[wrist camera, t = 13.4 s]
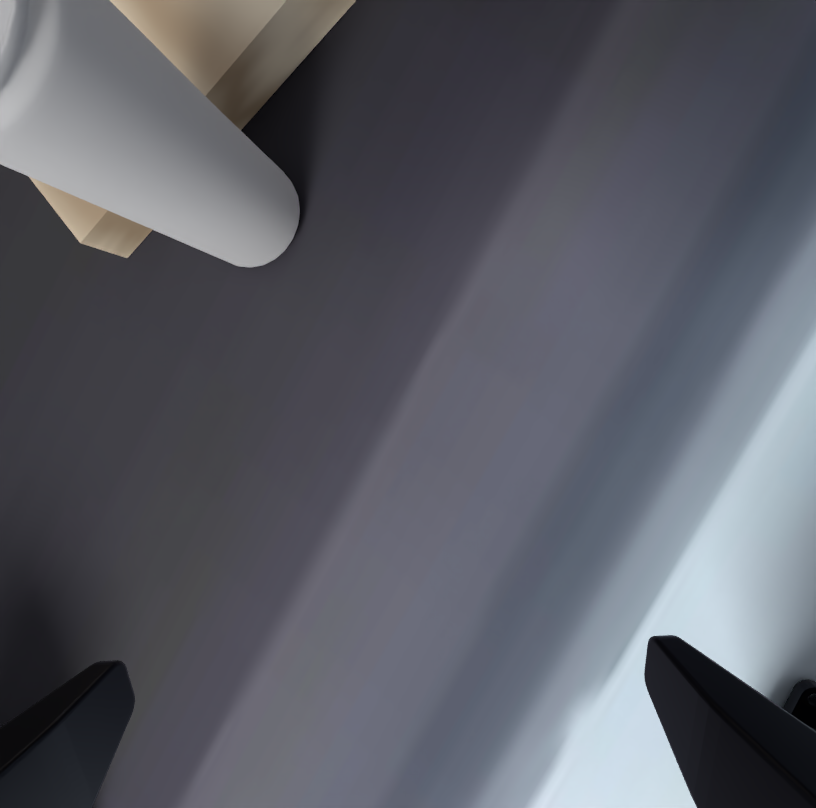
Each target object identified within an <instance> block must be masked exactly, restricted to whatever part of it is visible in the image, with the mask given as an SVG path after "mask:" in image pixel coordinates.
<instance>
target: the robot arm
mask: <svg viewBox="0 0 816 808" xmlns="http://www.w3.org/2000/svg"><path fill="white" fill-rule="evenodd" d="M645 683H646V687H647V690H648V692H649V695H650V697H651V700H652V702H653V705H654V707H655V709H656V712H657V714H658V717H659V719H660V722H661V724H662V726H663V729H664V731H665V734H666V736H667V738H668V741H669V743H670V746H671V748H672V751H673V753H674V755H675V758H676V760H677V763H678V765H679V768H680V770H681V772H682V775H683V777H684V780H685V782H686V784H687V787H688V789H689V791H690V793H691V796H692V798H693V800H694V802H695V804H696V806H697V808H816V696H815V697H814V698H812V699H808V697H809V696H810V695H811V694H816V682H815V681H811V680H802V681H800V682H798V683H797V684H796V685H795V686H794V688H793V690H792V692H791V694H790V696H789V698H788V700H787V702H786V704H785V706H784V708H783V709H782V708H781V707H780V706H778V705H777V704H775V703H774V702H772V701H771V700H769V699H768V698H766V697H765V696H764V695H762V694H761V693H759V692H758V691H756V690H755V689H753V688H752V687H750V686H749V685H748V684H746V683H745V682H743V681H742V680H740V679H739V678H737V677H736V676H734V675H733V674H732V673H730V672H729V671H727V670H726V669H724V668H723V667H721V666H720V665H719V664H717V663H716V662H714V661H713V660H711V659H710V658H708V657H707V656H705V655H704V654H703V653H701V652H700V651H698V650H697V649H695V648H694V647H692V646H691V645H689V644H688V643H687V642H685V641H684V640H682V639H681V638H679V637H677V636H673V635H668V636H653V637H651V638H650V639H649V641H648V647H647V655H646V664H645ZM134 703H135V696H134V692H133V688H132V685H131V682H130V678H129V675H128V672H127V668H126V666H125V664H124V663H123V662H122V661H100V662H96V663H94V664H93V665H91V666H89V667H88V668H87V669H85V670H84V671H82V672H81V673H79V674H78V675H76V676H75V677H74V678H72V679H71V680H69V681H68V682H66V683H65V684H63V685H62V686H61V687H59V688H58V689H56V690H55V691H53V692H52V693H50V694H49V695H48V696H46V697H45V698H43V699H42V700H40V701H39V702H37V703H36V704H35V705H33V706H32V707H30V708H29V709H27V710H26V711H24V712H23V713H22V714H20V715H19V716H17V717H16V718H14V719H13V720H11V721H10V722H9V723H7V724H6V725H4V726H3V727H1V728H0V808H92V806H93V804H94V802H95V800H96V797H97V795H98V793H99V790H100V788H101V785H102V783H103V781H104V778H105V776H106V774H107V771H108V769H109V767H110V764H111V762H112V760H113V757H114V755H115V752H116V750H117V748H118V745H119V743H120V741H121V738H122V736H123V734H124V731H125V729H126V727H127V724H128V722H129V720H130V717H131V715H132V712H133V709H134Z"/></svg>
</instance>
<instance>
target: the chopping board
mask: <svg viewBox="0 0 816 808" xmlns="http://www.w3.org/2000/svg"><path fill="white" fill-rule="evenodd" d="M109 1H111V2H112V3H113V4H114V5H115V6H116V7H117V8H118V9H119V10H120V11H121V12H122V13H123V14H124V15H125V16H126V17H127V18H128V19H129V20H130V21H131V22H132V23H133V24H134V25H135V26H136V27H137V28H138V29H139V30H140V31H141V32H142V33H143V34H144V35H145V36H146V37H147V38H148V39H149V40H150V41H151V42H152V43H153V44H154V45H155V46H156V47H157V48H158V49H159V50H160V51H161V52H162V53H163V54H164V55H165V56H166V57H167V58H168V59H169V60H170V61H171V62H172V63H173V64H174V65H175V66H176V67H177V68H178V69H179V70H180V71H181V72H182V73H183V74H184V75H185V76H186V77H187V78H188V79H189V80H190V81H191V82H192V84H193V85H194V86H195V87H196V88H197V89H198V90H199V91H200V92H201V93H202V94H203V95H204V96H206V97H207V98H208V99H209V100H210V101H211V102H212V103H213V104H214V105H215V106H216V107H217V108H218V109H219V110H220V111H221V112H222V113H223V114H224V115H225V116H226V117H227V118H228V119H229V120H230V121H231V122H232V123H233V124H234V125H235V126H236V127H237V128H238V129H239V130H242V129H243V127H244V126H245V125H246V124H247V123H248V122H249V121H250V120H251V118H252V117H253V116H254V115H255V114H256V113H257V112H258V111H259V109H260V108H261V107H262V106H263V105H264V104H265V103H266V102H267V100H268V99H269V98H270V97H271V96H272V95H273V94H274V93H275V91H276V90H277V89H278V88H279V87H280V86H281V85H282V84H283V82H284V81H285V80H286V79H287V78H288V77H289V76H290V75H291V73H292V72H293V71H294V70H295V69H296V68H297V67H298V66H299V64H300V63H301V62H302V61H303V60H304V59H305V58H306V57H307V55H308V54H309V53H310V52H311V51H312V50H313V49H314V48H315V46H316V45H317V44H318V43H319V42H320V41H321V40H322V39H323V37H324V36H325V35H326V34H327V33H328V32H329V31H330V30H331V28H332V27H333V26H334V25H335V24H336V23H337V22H338V21H339V19H340V18H341V17H342V16H343V15H344V14H345V13H346V12H347V10H348V9H349V8H350V7H351V6H352V5H353V4H354V2H355V1H356V0H109ZM30 179H31V180H32V181H33V183H34V184H35V185H36V186H37V188H38V189H39V190H40V192H41V193H42V194H43V196H44V197H45V198H46V199H47V201H48V202H49V203H50V205H51V206H52V207H53V208H54V210H55V211H56V212H57V214H58V215H59V216H60V217H61V219H62V220H63V221H64V223H65V224H66V225H67V227H68V228H69V229H70V230H71V232H72V233H73V234H74V236H75V237H76V238H77V239H78V241H79V242H80V243H82V244H85V245H88V246H91V247H94V248H97V249H100V250H103V251H106V252H110V253H113V254H116V255H119V256H122V257H125V258H128V257H129V256H130V255H131V254H132V252H133V251H134V250H135V249H136V248H137V247H138V246H139V245H140V243H141V242H142V241H143V240H144V239H145V238H146V237H147V236H148V234H149V233H150V232H151V231H152V229H150V228H148V227H145V226H143V225H141V224H138V223H136V222H134V221H131V220H129V219H127V218H124V217H122V216H120V215H118V214H115V213H113V212H111V211H108V210H106V209H104V208H101V207H99V206H97V205H94V204H92V203H90V202H87V201H85V200H83V199H80V198H78V197H76V196H73V195H71V194H69V193H66V192H64V191H62V190H59V189H57V188H55V187H52V186H50V185H48V184H45V183H43V182H41V181H38V180H36V179H34V178H31V177H30Z"/></svg>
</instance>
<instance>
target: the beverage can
mask: <svg viewBox="0 0 816 808" xmlns="http://www.w3.org/2000/svg"><path fill="white" fill-rule="evenodd" d="M0 164H1V165H3V166H6V167H8V168H10V169H13V170H15V171H17V172H20V173H22V174H24V175H27V176H29V177H31V178H34V179H36V180H38V181H41V182H43V183H45V184H48V185H50V186H52V187H55V188H57V189H59V190H62V191H64V192H66V193H69V194H71V195H73V196H76V197H78V198H80V199H83V200H85V201H87V202H90V203H92V204H94V205H97V206H99V207H101V208H104V209H106V210H108V211H111V212H113V213H115V214H118V215H120V216H122V217H124V218H127V219H129V220H131V221H134V222H136V223H138V224H141V225H143V226H145V227H148V228H150V229H152V230H155V231H157V232H159V233H162V234H164V235H166V236H169V237H171V238H173V239H176V240H178V241H180V242H183V243H185V244H187V245H190V246H192V247H194V248H197V249H199V250H201V251H204V252H206V253H208V254H211V255H213V256H215V257H218V258H220V259H222V260H225V261H227V262H229V263H232V264H234V265H236V266H241V267H256V266H261V265H265V264H267V263H269V262H271V261H273V260H275V259H276V258H277V257H278V256H279V255H280V254H282V253H283V252H284V251H285V250H286V248H287V247H288V245H289V244H290V242H291V241H292V239H293V238H294V235H295V232H296V230H297V227H298V223H299V214H300V207H299V200H298V195H297V193H296V190H295V188H294V186H293V184H292V182H291V181H290V180H289V178H288V177H287V176H286V174H285V173H284V172H283V171H282V170H281V169H280V168H279V167H278V166H277V165H276V164H275V163H274V162H273V161H272V160H271V159H270V158H269V157H268V156H267V155H265V154H264V153H263V152H262V151H261V150H260V149H259V148H258V147H257V146H256V145H255V144H254V143H253V142H252V141H251V140H250V139H249V138H248V137H247V136H246V135H245V134H244V133H243V132H242V131H241V130H239V129H238V128H237V127H236V126H235V125H234V124H233V123H232V122H231V121H230V120H229V119H228V118H227V117H226V116H225V115H224V114H223V113H222V112H221V111H220V110H219V109H218V108H217V107H216V106H215V105H214V104H213V103H212V102H211V101H210V100H209V99H208V98H207V97H206V96H204V95H203V94H202V93H201V92H200V91H199V90H198V89H197V88H196V87H195V86H194V85H193V84H192V82H191V81H190V80H189V79H188V78H187V77H186V76H185V75H184V74H183V73H182V72H181V71H180V70H179V69H178V68H177V67H176V66H175V65H174V64H173V63H172V62H171V61H170V60H169V59H168V58H167V57H166V56H165V55H164V54H163V53H162V52H161V51H160V50H159V49H158V48H157V47H156V46H155V45H154V44H153V43H152V42H151V41H150V40H149V39H148V38H147V37H146V36H145V35H144V34H143V33H142V32H141V31H140V30H139V29H138V28H137V27H136V26H135V25H134V24H133V23H132V22H131V21H130V20H129V19H128V18H127V17H126V16H125V15H124V14H123V13H122V12H121V11H120V10H119V9H118V8H117V7H116V6H115V5H114V4H113V3H112V2H111V1H109V0H0Z"/></svg>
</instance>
